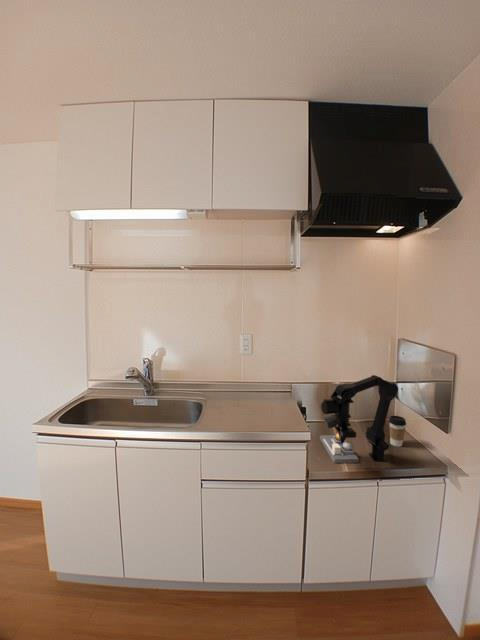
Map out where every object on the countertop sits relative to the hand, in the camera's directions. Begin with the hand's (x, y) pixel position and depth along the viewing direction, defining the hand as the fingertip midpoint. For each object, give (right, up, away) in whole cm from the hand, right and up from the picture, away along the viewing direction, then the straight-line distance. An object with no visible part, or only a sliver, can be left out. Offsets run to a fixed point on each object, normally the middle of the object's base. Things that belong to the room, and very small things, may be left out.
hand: (341, 442), depth 146 cm
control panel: (+2, -9, +14) cm, 17 cm away
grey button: (+6, -6, +8) cm, 12 cm away
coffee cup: (+37, -9, +20) cm, 43 cm away
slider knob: (0, -8, +7) cm, 11 cm away
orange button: (+5, -5, +18) cm, 20 cm away
